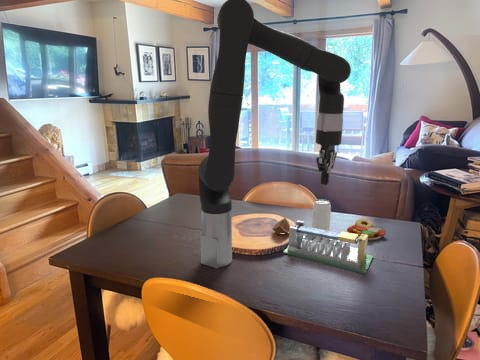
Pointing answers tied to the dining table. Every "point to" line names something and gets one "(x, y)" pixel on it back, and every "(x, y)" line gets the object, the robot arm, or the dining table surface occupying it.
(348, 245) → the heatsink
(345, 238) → the grey and tan bar
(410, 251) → the dining table surface
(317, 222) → the can
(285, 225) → the fruit slice
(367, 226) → the toy food set
